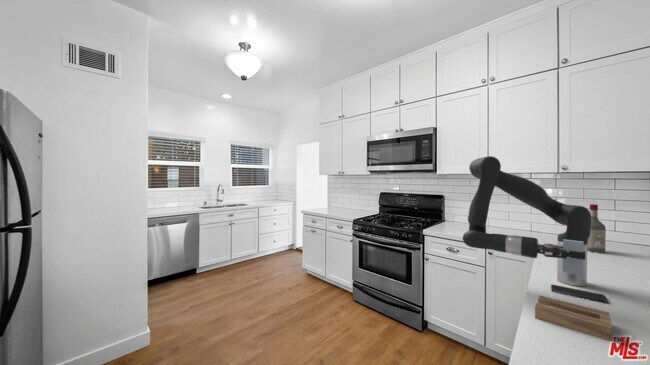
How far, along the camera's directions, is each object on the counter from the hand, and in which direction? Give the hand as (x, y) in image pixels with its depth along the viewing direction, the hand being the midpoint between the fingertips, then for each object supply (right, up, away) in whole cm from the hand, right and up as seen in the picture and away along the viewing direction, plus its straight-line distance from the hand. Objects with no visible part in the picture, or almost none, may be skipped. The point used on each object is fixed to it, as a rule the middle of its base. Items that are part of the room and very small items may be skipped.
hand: (584, 255), depth 86 cm
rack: (-13, -18, -8) cm, 23 cm away
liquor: (+85, -20, +78) cm, 117 cm away
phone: (+9, -19, +11) cm, 24 cm away
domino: (-2, -6, +2) cm, 7 cm away
